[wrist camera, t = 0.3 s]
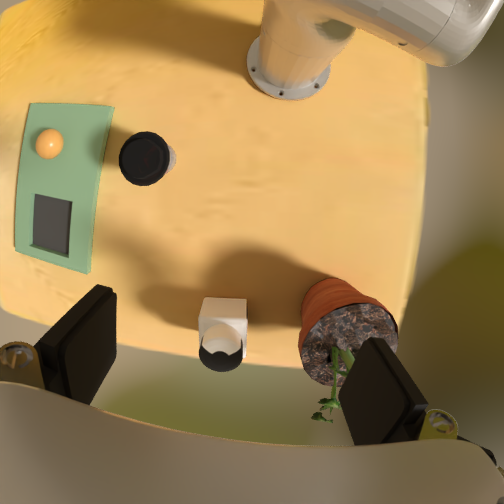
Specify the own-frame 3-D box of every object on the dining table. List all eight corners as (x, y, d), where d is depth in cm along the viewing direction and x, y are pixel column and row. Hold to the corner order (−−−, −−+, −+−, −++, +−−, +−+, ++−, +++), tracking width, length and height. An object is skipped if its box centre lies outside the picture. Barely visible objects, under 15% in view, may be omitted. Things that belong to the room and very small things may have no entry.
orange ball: (50, 128, 38) (33, 127, 34) (71, 130, 39) (55, 128, 34) (44, 157, 40) (27, 158, 35) (66, 160, 40) (49, 161, 35)
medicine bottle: (245, 334, 51) (246, 378, 40) (204, 332, 51) (195, 376, 39) (247, 298, 49) (248, 337, 38) (204, 296, 49) (192, 334, 37)
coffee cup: (138, 179, 43) (111, 184, 34) (143, 135, 41) (117, 129, 32) (180, 184, 44) (163, 189, 34) (186, 138, 42) (170, 131, 32)
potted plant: (267, 326, 51) (292, 520, 17) (315, 251, 47) (429, 417, 14) (338, 356, 53) (403, 516, 20) (385, 291, 50) (507, 430, 16)
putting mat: (35, 104, 38) (30, 103, 37) (114, 107, 40) (110, 106, 38) (19, 248, 46) (15, 251, 44) (90, 271, 47) (86, 274, 46)
